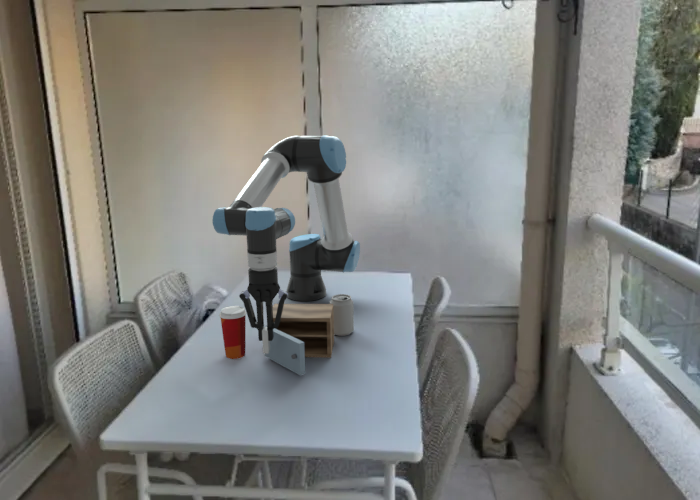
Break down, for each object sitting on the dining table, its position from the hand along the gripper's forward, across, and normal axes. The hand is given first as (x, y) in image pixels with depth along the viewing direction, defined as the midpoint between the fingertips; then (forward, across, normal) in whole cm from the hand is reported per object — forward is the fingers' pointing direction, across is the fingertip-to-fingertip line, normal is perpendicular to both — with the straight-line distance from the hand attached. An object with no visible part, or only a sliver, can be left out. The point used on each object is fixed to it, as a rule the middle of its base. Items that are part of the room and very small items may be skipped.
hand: (266, 351), depth 153 cm
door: (+5, +4, +2) cm, 6 cm away
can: (+6, +19, +28) cm, 34 cm away
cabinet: (+6, +8, +15) cm, 18 cm away
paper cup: (+6, -11, +10) cm, 16 cm away
